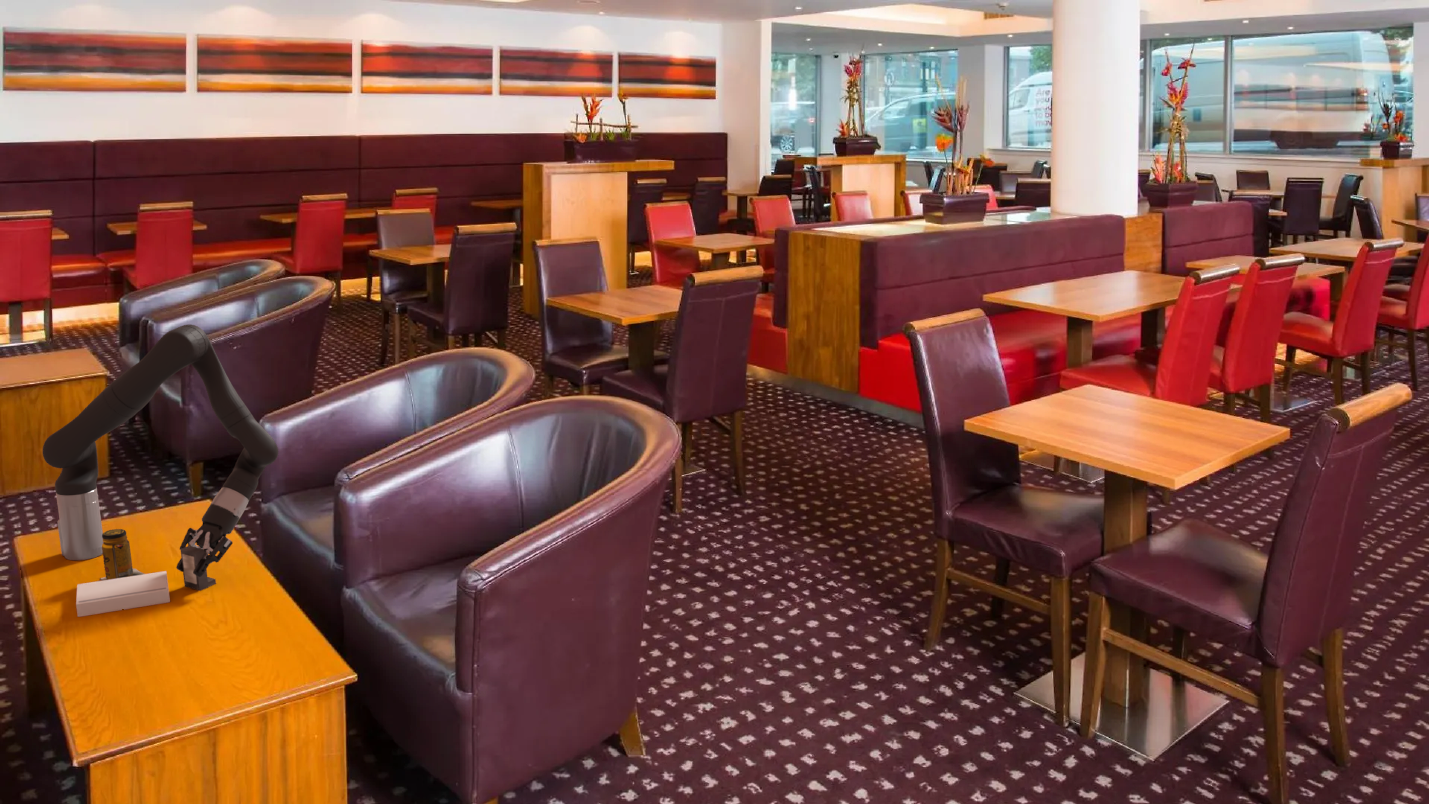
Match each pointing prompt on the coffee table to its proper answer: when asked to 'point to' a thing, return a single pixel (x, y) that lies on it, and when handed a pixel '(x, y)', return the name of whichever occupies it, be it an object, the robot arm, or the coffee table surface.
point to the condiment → (117, 555)
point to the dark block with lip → (189, 563)
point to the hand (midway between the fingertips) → (188, 572)
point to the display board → (122, 593)
